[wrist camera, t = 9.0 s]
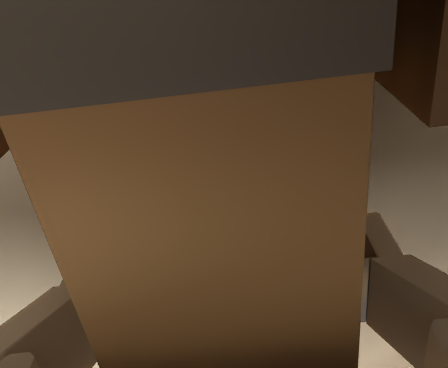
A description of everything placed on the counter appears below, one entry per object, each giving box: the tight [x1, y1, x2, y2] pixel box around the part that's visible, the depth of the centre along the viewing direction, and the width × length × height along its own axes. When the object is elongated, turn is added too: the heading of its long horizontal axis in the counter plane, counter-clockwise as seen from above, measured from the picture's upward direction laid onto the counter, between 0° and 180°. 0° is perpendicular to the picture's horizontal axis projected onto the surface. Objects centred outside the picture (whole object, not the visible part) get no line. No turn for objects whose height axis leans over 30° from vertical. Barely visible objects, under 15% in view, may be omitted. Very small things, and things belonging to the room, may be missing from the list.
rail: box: [0, 0, 398, 368], centre depth 10 cm, size 16×4×6 cm, turn 7°
